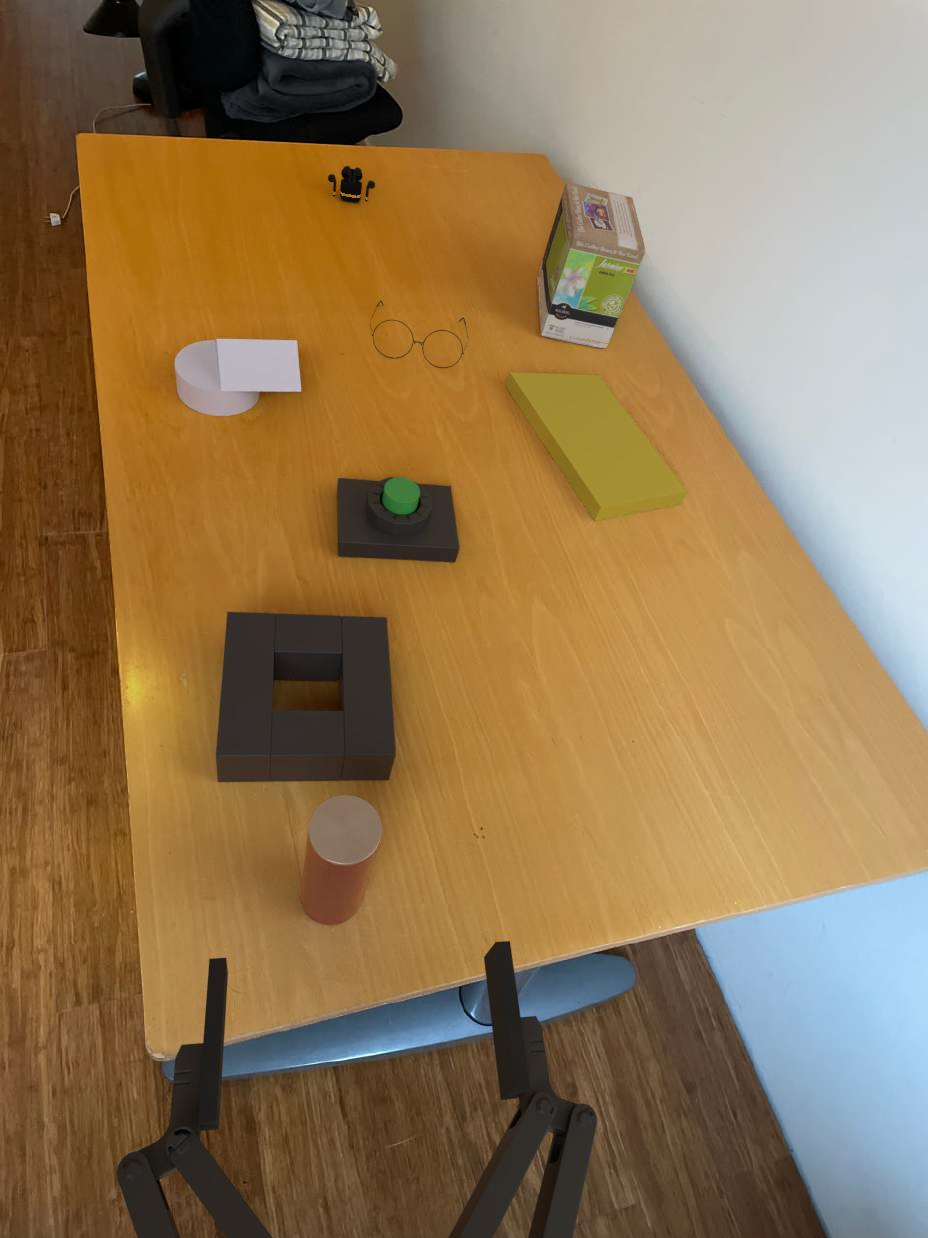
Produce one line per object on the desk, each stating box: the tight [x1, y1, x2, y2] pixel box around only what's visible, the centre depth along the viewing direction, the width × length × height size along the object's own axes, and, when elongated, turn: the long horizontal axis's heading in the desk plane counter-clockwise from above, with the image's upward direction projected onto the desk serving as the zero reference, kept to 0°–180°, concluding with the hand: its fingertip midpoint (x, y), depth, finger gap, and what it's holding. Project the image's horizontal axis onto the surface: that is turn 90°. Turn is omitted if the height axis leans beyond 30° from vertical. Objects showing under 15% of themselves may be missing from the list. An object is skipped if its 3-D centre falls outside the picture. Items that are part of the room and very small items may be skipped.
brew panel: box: [335, 476, 460, 563], centre depth 83 cm, size 12×9×4 cm
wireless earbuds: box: [327, 165, 376, 204], centre depth 122 cm, size 7×2×5 cm, turn 95°
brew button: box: [382, 476, 420, 515], centre depth 81 cm, size 4×4×2 cm
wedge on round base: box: [174, 338, 302, 417], centre depth 90 cm, size 9×7×13 cm
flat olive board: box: [504, 371, 688, 522], centre depth 99 cm, size 12×2×24 cm
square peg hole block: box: [215, 611, 397, 783], centre depth 68 cm, size 14×14×4 cm
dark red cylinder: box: [299, 794, 383, 926], centre depth 56 cm, size 5×5×12 cm
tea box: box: [536, 182, 646, 349], centre depth 111 cm, size 15×10×15 cm, turn 179°
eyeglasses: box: [369, 300, 469, 369], centre depth 104 cm, size 11×13×5 cm
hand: (363, 956), depth 40 cm, fingers open, 13 cm apart
